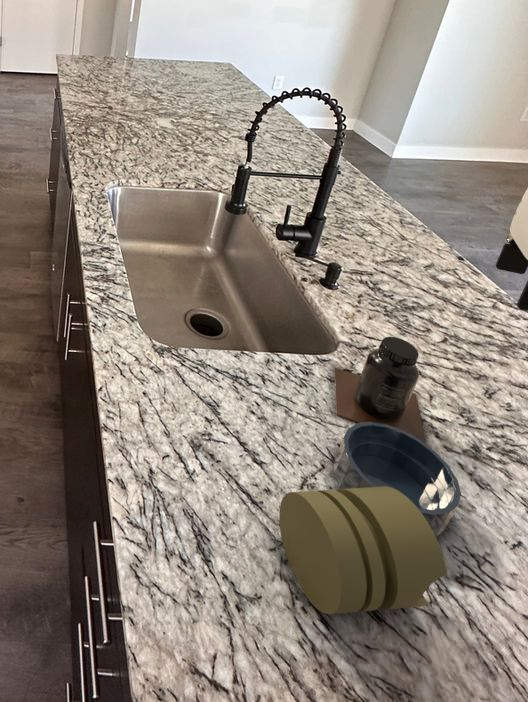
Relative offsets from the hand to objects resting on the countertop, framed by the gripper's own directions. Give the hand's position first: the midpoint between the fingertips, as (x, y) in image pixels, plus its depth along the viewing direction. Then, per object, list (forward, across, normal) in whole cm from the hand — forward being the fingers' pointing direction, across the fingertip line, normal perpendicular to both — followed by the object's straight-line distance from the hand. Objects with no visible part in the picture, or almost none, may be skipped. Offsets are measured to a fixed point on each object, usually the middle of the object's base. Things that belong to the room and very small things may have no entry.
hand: (520, 289), depth 73 cm
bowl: (+27, -16, +10) cm, 33 cm away
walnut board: (+27, 0, +10) cm, 29 cm away
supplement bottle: (+27, 0, +10) cm, 29 cm away
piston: (+27, -31, +16) cm, 44 cm away
